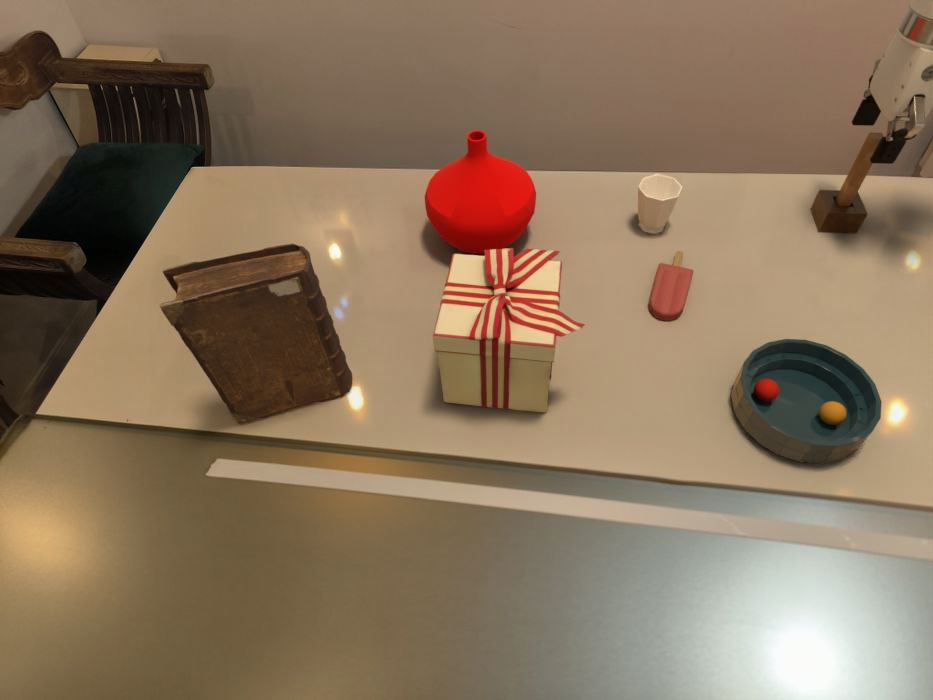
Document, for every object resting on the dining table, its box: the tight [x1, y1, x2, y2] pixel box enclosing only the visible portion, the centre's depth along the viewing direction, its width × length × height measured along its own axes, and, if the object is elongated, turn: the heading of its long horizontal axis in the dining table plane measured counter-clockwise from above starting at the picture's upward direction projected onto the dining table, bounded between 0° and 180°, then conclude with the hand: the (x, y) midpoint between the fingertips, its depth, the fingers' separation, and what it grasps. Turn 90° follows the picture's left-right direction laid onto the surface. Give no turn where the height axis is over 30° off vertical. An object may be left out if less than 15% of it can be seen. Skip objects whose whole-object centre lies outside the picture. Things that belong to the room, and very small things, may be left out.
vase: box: [424, 129, 537, 255], centre depth 98 cm, size 18×18×19 cm
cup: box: [637, 173, 683, 235], centre depth 102 cm, size 7×10×8 cm
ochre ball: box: [819, 401, 847, 425], centre depth 77 cm, size 3×3×3 cm
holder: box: [810, 189, 869, 234], centre depth 101 cm, size 6×6×4 cm
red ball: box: [754, 379, 779, 401], centre depth 80 cm, size 3×3×3 cm
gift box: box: [432, 247, 586, 413], centre depth 81 cm, size 17×18×17 cm
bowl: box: [730, 338, 883, 465], centre depth 78 cm, size 16×16×5 cm
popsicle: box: [648, 250, 694, 321], centre depth 95 cm, size 5×2×15 cm
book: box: [159, 243, 354, 425], centre depth 77 cm, size 17×7×25 cm, turn 100°
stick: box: [835, 132, 885, 207], centre depth 96 cm, size 2×2×16 cm
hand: (871, 142), depth 91 cm, fingers open, 9 cm apart
